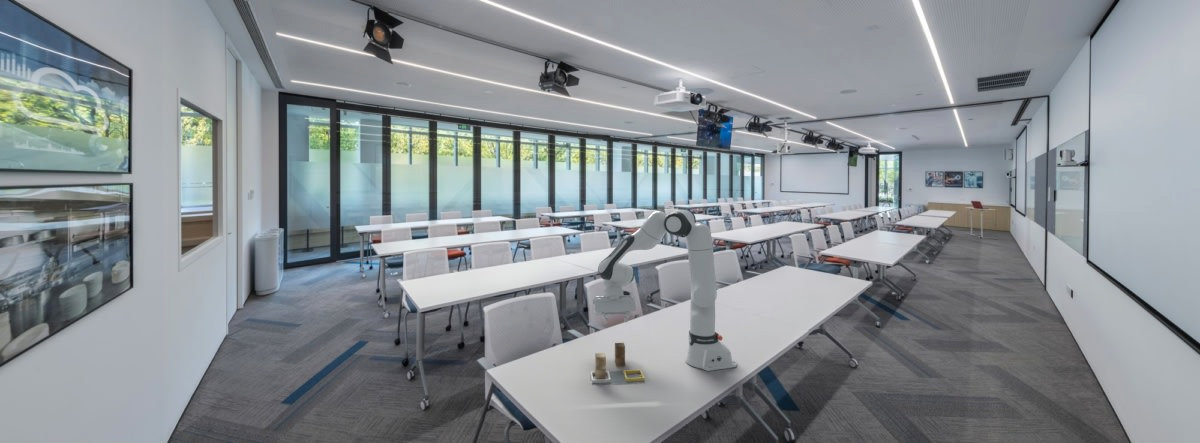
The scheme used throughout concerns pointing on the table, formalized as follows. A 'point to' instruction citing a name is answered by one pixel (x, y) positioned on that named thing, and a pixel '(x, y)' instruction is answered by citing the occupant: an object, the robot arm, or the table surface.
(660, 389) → the table surface
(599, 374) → the oak pillar
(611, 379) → the base plate
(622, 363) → the walnut pillar
